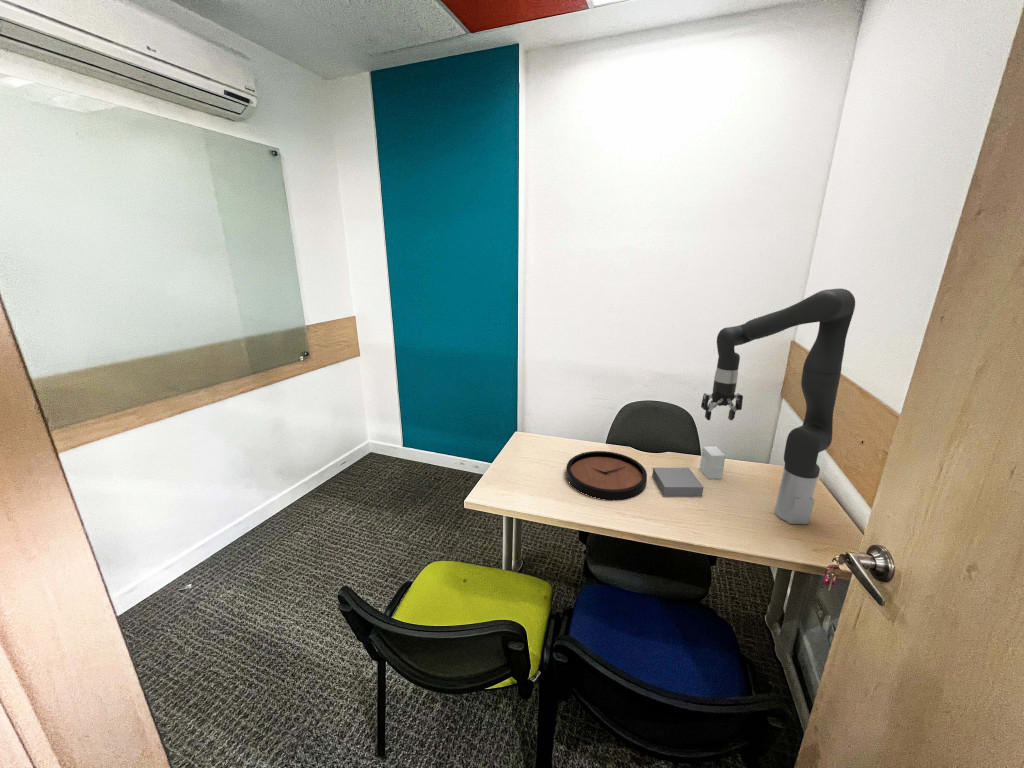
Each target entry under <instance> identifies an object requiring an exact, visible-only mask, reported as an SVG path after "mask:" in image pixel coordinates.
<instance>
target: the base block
mask: <svg viewBox="0 0 1024 768" xmlns="http://www.w3.org/2000/svg"><path fill="white" fill-rule="evenodd" d="M652 478H653V480H654V482H655V484H656V485H657V487H658V489H659V490H660V492H661V494H662V496H663V497H675V498H677V497H681V498H682V497H683V498H684V497H691V498H692V497H693V498H694V497H695V498H696V497H697V498H698V497H699V498H702V497H703V493H704V486H703V484H702V483H701V482H700V481H699V479H698V478H697V477H696V475H695V473H693V471H692V470H691V469H690V467H652Z"/></svg>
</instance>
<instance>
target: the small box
mask: <svg viewBox="0 0 1024 768" xmlns="http://www.w3.org/2000/svg"><path fill="white" fill-rule="evenodd" d="M725 460H726V454H724V453H723V452H722V450H720V449H719V448H718V447H717V446H702V449H701V457H700V464H699V465H700V466H699V470H700V471H701V472H702V473H703V475H704V476H705V477H706V478H707V480H718V479H719V480H720V479H723V473H724V467H725V462H726V461H725Z"/></svg>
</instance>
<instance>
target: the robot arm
mask: <svg viewBox="0 0 1024 768" xmlns="http://www.w3.org/2000/svg"><path fill="white" fill-rule="evenodd" d="M855 309H856V299H855V296H854V294H853V293H852V292H851V291H850V290H848V289H847V288H846V289H845V288H832V289H831V288H829V289H823V290H820V291H818V292H816V293H813V294H812V295H810V296H808V297H807V298H805V299H802V300H800V301H798V302H797V303H794V304H792V305H790V306H788V307H786V308H783V309H780V310H776V311H774V312H770V313H767V314H764V315H762V316H761V315H760V316H758V317H756V318H752V319H749V320H747V321H746V322H745V323H743V324H742V323H741V324H739V325H735V326H729V327H727V326H726V327H724V328H722V329H720V330H719V332H718V334H717V337H716V348H717V354H718V358H717V363H716V364H717V366H716V370H715V374H714V376H713V378H714V379H713V386H712V393H711V394H710V393H709V394H707V393H706V392H705V393H703V395H702V401H701V404H700V405H701V406H700V407H701V408H702V409H703V411H705V412H704V413H705V414H704V418H705V419H706V420H707V421H711V418H712V411H713V409H715V408H717V407H720V406H721V407H722V406H723V407H724V406H725V407H727V406H728V408H730V409H729V411H728V417H727V418H728V420H729V421H734V419H735V416H736V412H737V411H741V410H742V409H743V401H744V400H743V399H744V396H743V395H742V394H741V393H737V394H735V393H736V389H737V383H738V378H739V365H740V360H741V357H740V355H739V354H738V353H737V352H736V350H735V346H740V345H741V346H742V345H745V344H747V343H750V342H753V341H754V340H759V339H763V338H766V337H769V336H772V335H775V334H778V333H781V332H783V331H785V330H788V329H790V328H793V327H796V326H800V325H806V324H813V323H819V325H818V331H817V335H816V339H815V340H814V342H813V344H812V346H811V348H810V350H809V351H808V353H807V356H806V358H805V360H804V363H803V366H802V374H801V380H800V381H801V382H800V383H801V385H800V387H801V392H802V394H803V397H804V401H805V404H806V405H805V406H806V407H805V409H806V410H805V414H804V415H805V416H804V419H803V423H802V425H801V426H798V427H795V428H793V429H791V431H790V432H789V433H788V435H787V438H786V441H785V446H784V453H783V461H784V467H783V471H782V476H781V478H780V484H779V489H778V493H777V497H776V502H775V507H774V511H773V512H774V514H775V515H776V516H777V517H778V518H779V519H781V520H783V521H785V522H787V523H788V524H790V525H809V523H810V519H811V516H812V512H813V507H814V504H815V499H814V495H815V490H816V487H817V483H818V480H819V479H818V478H819V475H820V472H821V469H820V466H819V465H818V463H817V461H818V457H819V454H820V453H821V452H824V451H826V450H827V449H829V447H830V446H831V443H832V441H833V424H834V422H833V420H834V409H835V405H836V401H837V396H838V395H837V394H838V388H839V384H840V380H841V374H842V368H843V367H842V366H843V359H844V354H845V347H846V339H847V336H848V332H849V330H850V326H851V321H852V318H853V315H854V312H855ZM734 399H735V404H734V402H733V400H734Z"/></svg>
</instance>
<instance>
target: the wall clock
mask: <svg viewBox="0 0 1024 768" xmlns="http://www.w3.org/2000/svg"><path fill="white" fill-rule="evenodd" d="M565 471H566V473H565V477H566V476H567V478H566V480H567V479H568V481H569V482H570V484H571V485H572V486H573V487H574V488H576V489H577V490H579V491H580V492H582V493H584V494H587V495H589V496H588V497H590V496H592V497H591V498H593V497H596V498H595V499H597V498H600V499H599V500H602V499H605V500H604V501H613V500H615V501H624V500H625V499H626V500H631V499H632V498H633V499H634V498H635V497H638V496H639V495H641V494H642V493H643V492H644V491H645V490H646V487H647V480H648V479H647V478H648V474H647V470H646V469H645V467H644V466H643V465H642V464H641V463H640V462H638V460H636V459H634V458H632V457H630V456H628V455H624V454H621V453H617V452H613V451H605V450H604V451H603V450H602V451H601V450H596V451H595V450H593V451H592V450H591V451H585V452H581V453H579V454H577V455H574V456H573V457H571V458H570V459H569V460H568V461H567V463H566V470H565ZM568 481H567V482H568ZM569 482H568V483H569ZM570 484H569V485H570ZM571 485H570V486H571ZM572 486H571V487H572ZM573 487H572V488H573ZM574 488H573V489H574ZM577 490H576V491H577ZM579 491H578V492H579ZM580 492H579V493H580ZM582 493H581V494H582ZM584 494H583V495H584ZM587 495H586V496H587Z"/></svg>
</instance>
